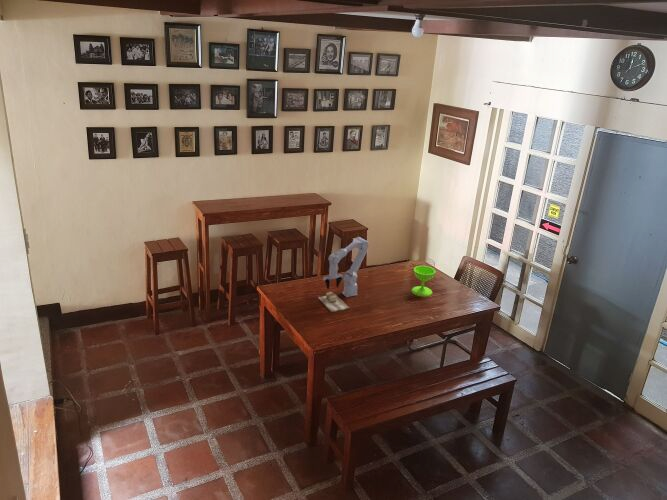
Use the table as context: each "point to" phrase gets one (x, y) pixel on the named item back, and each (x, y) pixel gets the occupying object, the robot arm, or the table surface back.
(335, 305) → the birch board
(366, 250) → the robot arm
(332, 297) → the block
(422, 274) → the wineglass
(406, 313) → the table surface
